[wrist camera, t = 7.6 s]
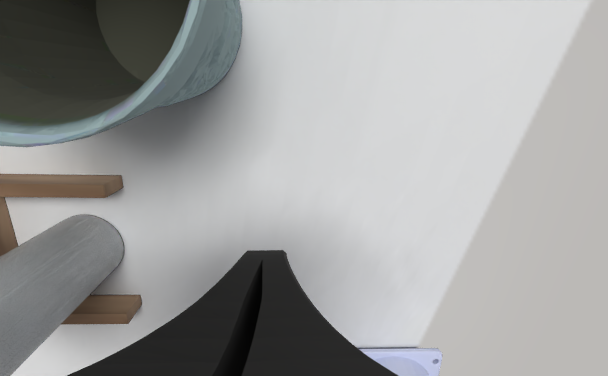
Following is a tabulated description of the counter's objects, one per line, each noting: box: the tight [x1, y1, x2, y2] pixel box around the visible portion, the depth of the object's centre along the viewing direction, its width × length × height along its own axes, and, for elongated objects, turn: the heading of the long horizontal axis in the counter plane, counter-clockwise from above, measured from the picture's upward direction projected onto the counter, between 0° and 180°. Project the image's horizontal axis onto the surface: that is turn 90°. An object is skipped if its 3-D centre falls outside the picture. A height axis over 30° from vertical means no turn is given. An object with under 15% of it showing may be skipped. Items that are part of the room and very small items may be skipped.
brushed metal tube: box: [0, 215, 124, 376], centre depth 17 cm, size 4×4×10 cm
